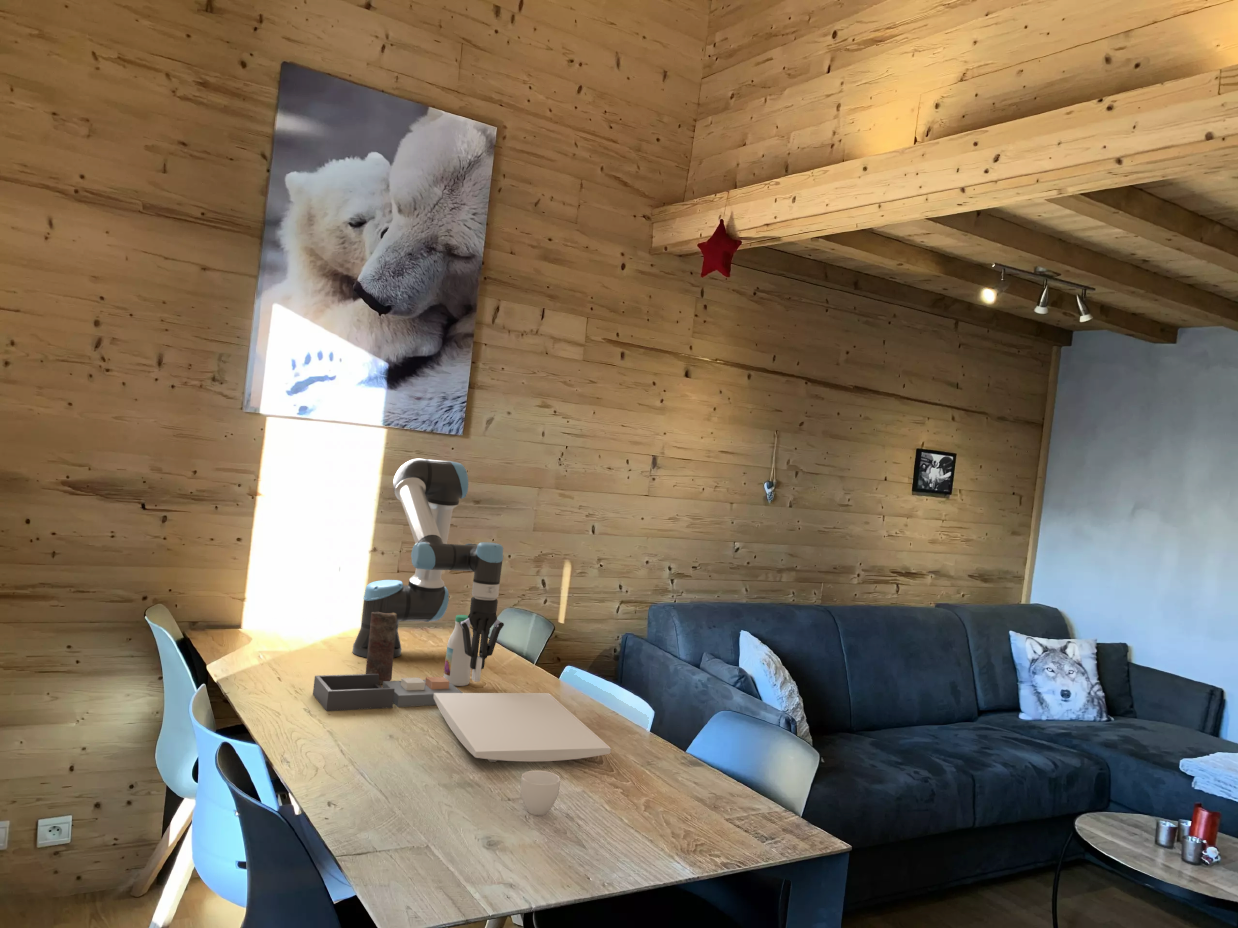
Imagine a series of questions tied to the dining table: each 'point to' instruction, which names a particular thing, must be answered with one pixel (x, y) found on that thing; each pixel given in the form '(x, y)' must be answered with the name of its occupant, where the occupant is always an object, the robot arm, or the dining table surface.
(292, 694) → the dining table surface
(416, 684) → the tile white
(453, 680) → the milk bottle
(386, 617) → the candle
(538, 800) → the cup
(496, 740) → the board
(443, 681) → the tile terracotta
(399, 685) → the slate board
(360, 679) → the box
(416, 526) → the robot arm
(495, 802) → the dining table surface
